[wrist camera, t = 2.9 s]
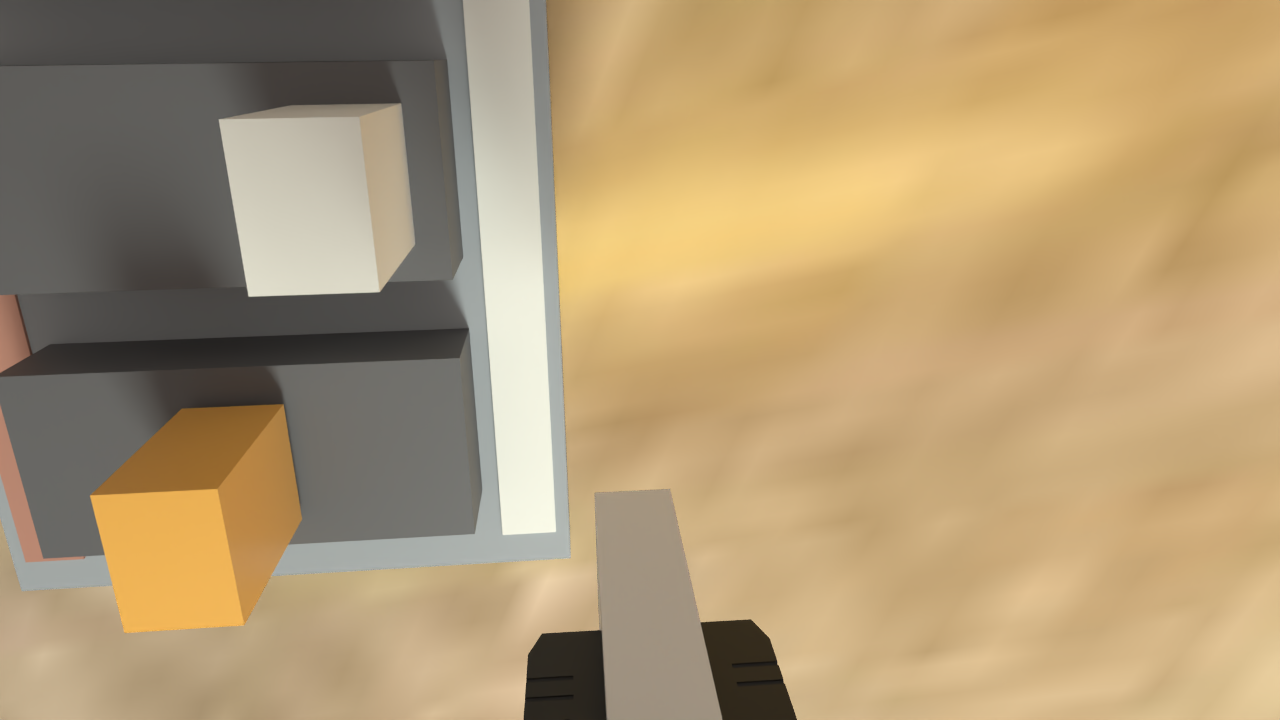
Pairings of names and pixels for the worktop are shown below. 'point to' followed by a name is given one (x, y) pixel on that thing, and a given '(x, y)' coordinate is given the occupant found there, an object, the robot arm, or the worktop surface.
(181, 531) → the block
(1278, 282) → the worktop surface
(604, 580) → the robot arm
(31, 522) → the panel
